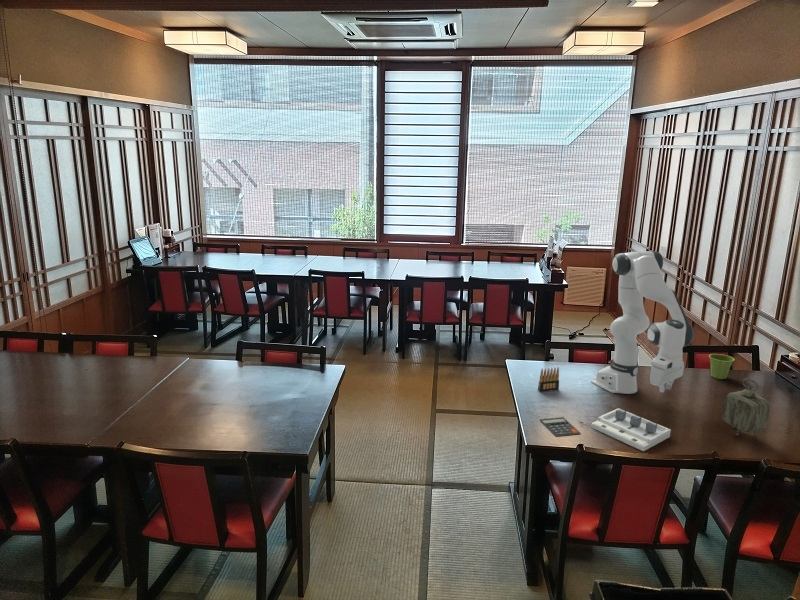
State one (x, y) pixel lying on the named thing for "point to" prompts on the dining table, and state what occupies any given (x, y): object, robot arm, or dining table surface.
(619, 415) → the tab
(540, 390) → the ammunition clip
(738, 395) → the tabletop clock
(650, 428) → the tab
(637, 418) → the tab
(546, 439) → the dining table surface
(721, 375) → the plant pot
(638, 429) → the switch bank
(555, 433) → the calculator
